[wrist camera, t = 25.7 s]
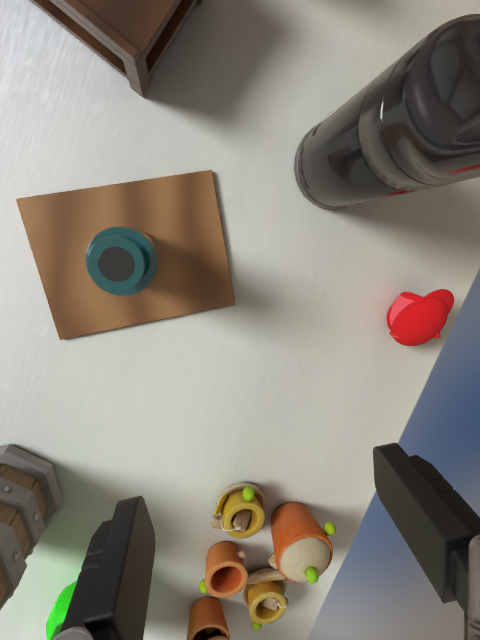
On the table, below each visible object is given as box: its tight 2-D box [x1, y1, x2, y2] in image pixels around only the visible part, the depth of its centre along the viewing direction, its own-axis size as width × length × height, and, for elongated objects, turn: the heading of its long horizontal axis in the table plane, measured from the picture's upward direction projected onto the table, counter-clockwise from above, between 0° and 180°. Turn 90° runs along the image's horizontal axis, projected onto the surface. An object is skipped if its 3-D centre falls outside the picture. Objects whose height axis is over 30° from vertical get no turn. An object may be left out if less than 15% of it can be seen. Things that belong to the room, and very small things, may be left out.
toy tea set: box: [187, 483, 336, 640], centre depth 45 cm, size 26×16×10 cm, turn 163°
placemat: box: [16, 170, 235, 340], centre depth 38 cm, size 20×15×1 cm
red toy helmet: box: [387, 289, 454, 346], centre depth 43 cm, size 8×6×6 cm
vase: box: [85, 227, 161, 296], centre depth 32 cm, size 6×6×12 cm
